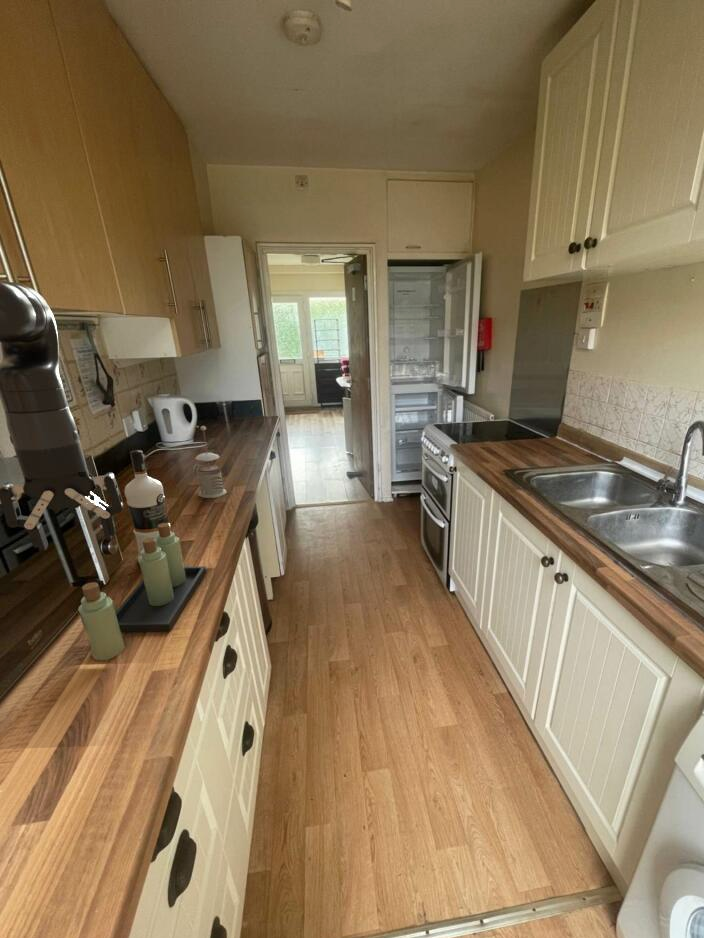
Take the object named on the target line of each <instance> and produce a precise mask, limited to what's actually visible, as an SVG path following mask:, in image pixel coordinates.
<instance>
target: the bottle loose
mask: <svg viewBox="0 0 704 938" xmlns="http://www.w3.org/2000/svg"><path fill="white" fill-rule="evenodd" d="M100 589H101V588H100V586H99V583H98V582H97V581H93V582H88V583H85V584H84V585H82V587H81V590H82V593H83V597H82V598H81V599H80V605H79V606H78V609H77V610H78V614H79V617H80V620H81V623H82V626H83V631H84V633H85V636H86V640H87V642H88V645H89V649H90V652H91V656H92V658H93V659H94V660H96V661H107V660H110V659H113V658H116V657H118V656H119V655H120V654H121V653H123V651H124V650H125V647H126V646H125V642H124V638H123V635H122V634H123V633H121V630H120V627H119V623H118V619H117V616H116V612H115V611H116V608H115V604H114V602H113V599H112V598H111V597H109V596H107V594H106V593H105V592H103V591H101V590H100Z"/></svg>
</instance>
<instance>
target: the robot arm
mask: <svg viewBox="0 0 704 938" xmlns="http://www.w3.org/2000/svg"><path fill="white" fill-rule="evenodd" d="M57 327H58V326H57V323H56V319H55V317H54V314H53V312H52V310H51V307H50V306H49V304H48V302H47V301H46V300H45V298H44V297H43V296H42V295H41V294H40V293H39V292H37V291H36V290H35V289H33V288H32V287H30V286H28V285H25V284H23V283H19V282H14V281H7V280H0V348H1V356H2V359H1V362H0V402H1V405H2V408H3V410H4V415H5V416H4V417H5V421H6V427H7V432H8V434H9V441H10V443H11V445H12V447H13V449H14V452H15V455H16V458H17V462H18V465H19V467H20V470H21V473H22V477H23V479H24V483H22V484H12V483H11V482H6V483H4V484H3V485H2V486H1V487H0V504H1V507H2V511H3V514H4V515H3V516H4V518H5V522H6V525H7V526H8V528H12V529H15V528H23V529H25V530H26V531H27V533H28V536H29V539H30V542H31V545H32V547H33V548H34V549H37V548H38V550H39V552H42V551H46V550H47V549H48V548H49V542H48V539H47V536H46V533H45V529H44V527H43V523H42V522H39V521H40V519H41V517H42V515H44V512H45V511H46V509H48V510H51V511H53V512H56V511H61V510H63V509H78V508H79V507H80V506H83V507H84V508H86V509H87V510H88V511H90V512H94V513H95V514H96V515H98V516H99V517H100V522H101V526H102V529H103V533H104V537H105V540H106V541H110V540H113V536H115V535H116V530H117V527H116V524H115V520H114V516H115V515H116V514H121V512H123V509H124V501H123V498H122V495H121V491H120V488H119V486H118V482H117V479H116V476H115V473H113V472H111V471H109V472H106V473H105V474H104V475H97V476H93V475H92V474H91V473H90V471H89V469H88V466H87V462H86V459H85V454H84V451H83V447H82V443H81V440H80V436H79V432H78V429H77V425H76V421H75V419H74V417H73V414H72V412H71V410H70V406H69V403H68V399H67V395H66V392H65V388H64V385H63V382H62V378H61V376H60V375H61V374H60V350H59V349H60V348H59V335H58V329H57ZM95 485H97V486H99V487H100V489H101V490H104V491H107V495H108V498H109V501H110V503H111V504H109V505H108V504H106V502H104V501H103V500H101V498H100V497H99V496H97V495H96V494H94V492H92V490H93V488H94V486H95ZM23 493H24V494H25V495H27V497H29V498H31V499H33V500H34V501H35V502H36V504H35V506H34V507H33V509H32V511H31V512H30V514H29V515H28V516H27V515H22V512H21V511H22V510H21V507H20V505H19V500H20V499H21V497H22V494H23Z"/></svg>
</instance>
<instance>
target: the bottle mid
mask: <svg viewBox="0 0 704 938" xmlns="http://www.w3.org/2000/svg"><path fill="white" fill-rule="evenodd" d="M142 542H143V547H144V549H143V550H142V551H141V556H140V557H139V562H138V564H139V563H140V564H139V567H140V571H141V576H142V580H144V585H145V589H146V593H147V598H148V602H149V604H150V605H152V606H161V605H165V604H167V603H169V602H171V601H172V600H173V599H174V593H173V588H172V583H171V578H170V573H169V568H168V563H167V558H166V554H165V552H162V551H161V548H160V547H157V546H156V541H155V538H146V539H144V540H143V541H142Z"/></svg>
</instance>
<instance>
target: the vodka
mask: <svg viewBox="0 0 704 938" xmlns="http://www.w3.org/2000/svg"><path fill="white" fill-rule="evenodd" d="M129 454H130V459H131V460H130V461H131V464H132V469H133V473H134V478H133V479H131V481H129V482H128V483H127V484H126V485H125V487H124V496H125V499H126V503H127V505H128V509H129V513H130V518H131V522H132V525H133V526H132V527H133V534H134V536H135V540H136V541H135V542H136V546H137V562H138V564H139V565H140V563H139V557H140V556H141V551H142V550H143V549H144V547H143V542H142V541H143V540H144V539H146V538H155V540H157V538H156V536H157V534H159V531H158V525H159V524H161V523H169V526H170V527H171V523H170V521H169V516H168V510H167V504H166V500H165V499H166V496H165V494H164V493H165V492H164V486H163V483H162V482H161V481H159V480H158V479H156V478H153V477H151V476H148V473H147V469H146V468H147V467H146V463H145V458H144V454H143V451H142V450H140V449H136V450H131V451H130V452H129ZM170 531H171V529H170ZM171 532H172V531H171Z"/></svg>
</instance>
